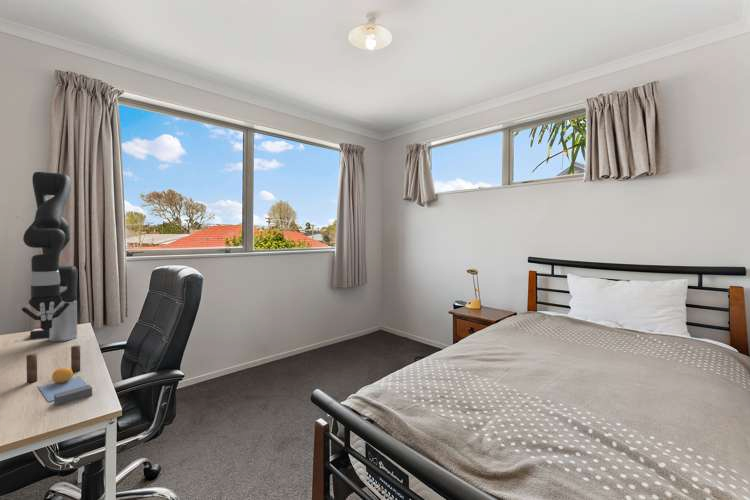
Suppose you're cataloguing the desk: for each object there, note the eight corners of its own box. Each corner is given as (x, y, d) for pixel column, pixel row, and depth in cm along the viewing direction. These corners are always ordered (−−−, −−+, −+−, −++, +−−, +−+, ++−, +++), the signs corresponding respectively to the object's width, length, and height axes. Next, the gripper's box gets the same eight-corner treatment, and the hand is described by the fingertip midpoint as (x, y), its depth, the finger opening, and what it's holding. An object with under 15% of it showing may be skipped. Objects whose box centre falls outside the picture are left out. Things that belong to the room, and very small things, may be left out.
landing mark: (38, 387, 104) (38, 387, 104) (79, 377, 112) (79, 376, 112) (48, 402, 96) (48, 401, 96) (91, 389, 104) (91, 389, 104)
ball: (53, 368, 105) (55, 384, 104) (74, 364, 109) (75, 379, 108) (49, 370, 107) (50, 385, 106) (69, 366, 112) (70, 380, 111)
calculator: (71, 321, 164) (63, 327, 152) (71, 329, 164) (63, 336, 152) (40, 323, 159) (29, 330, 146) (40, 332, 159) (29, 339, 146)
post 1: (26, 381, 107) (25, 355, 107) (36, 379, 109) (36, 353, 109) (27, 383, 106) (27, 356, 105) (38, 381, 108) (37, 354, 107)
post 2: (70, 371, 116) (70, 346, 116) (79, 369, 118) (79, 344, 118) (72, 373, 115) (72, 348, 114) (81, 370, 117) (81, 346, 116)
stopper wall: (54, 402, 96) (54, 394, 95) (89, 392, 102) (89, 384, 102) (56, 406, 94) (56, 397, 94) (92, 395, 100) (92, 387, 100)
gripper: (67, 280, 126) (67, 324, 126) (17, 283, 115) (17, 331, 116) (72, 282, 121) (73, 328, 122) (20, 286, 110) (21, 336, 111)
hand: (46, 329), depth 119 cm, fingers closed
